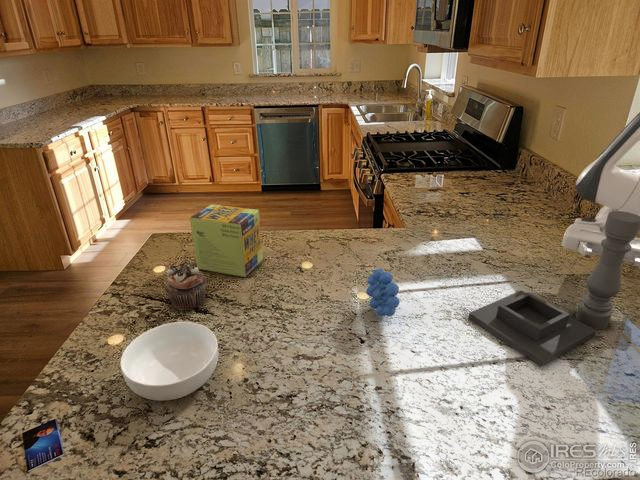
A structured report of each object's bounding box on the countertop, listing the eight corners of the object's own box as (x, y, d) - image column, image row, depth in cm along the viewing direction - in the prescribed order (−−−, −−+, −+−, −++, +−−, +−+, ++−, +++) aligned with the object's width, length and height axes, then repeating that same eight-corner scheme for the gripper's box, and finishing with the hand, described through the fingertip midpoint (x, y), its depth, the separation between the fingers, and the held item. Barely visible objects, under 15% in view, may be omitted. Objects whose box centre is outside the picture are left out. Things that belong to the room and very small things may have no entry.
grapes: (411, 324, 93) (416, 277, 88) (385, 332, 91) (388, 285, 86) (383, 297, 103) (386, 254, 98) (359, 304, 101) (361, 260, 95)
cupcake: (217, 297, 104) (212, 261, 100) (185, 317, 97) (179, 279, 92) (191, 286, 109) (185, 251, 104) (159, 304, 102) (151, 267, 97)
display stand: (594, 335, 89) (600, 318, 87) (541, 366, 81) (546, 348, 79) (520, 295, 103) (523, 279, 101) (468, 318, 95) (471, 301, 93)
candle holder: (576, 309, 98) (606, 208, 87) (607, 317, 95) (643, 214, 84) (574, 323, 93) (606, 218, 82) (607, 332, 90) (645, 225, 79)
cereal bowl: (113, 379, 80) (104, 349, 76) (193, 338, 90) (188, 310, 87) (153, 433, 69) (145, 401, 65) (239, 379, 79) (235, 349, 76)
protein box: (246, 278, 112) (241, 224, 105) (196, 269, 117) (188, 217, 110) (263, 259, 121) (259, 209, 114) (216, 252, 126) (210, 203, 119)
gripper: (661, 258, 99) (666, 285, 88) (563, 239, 109) (556, 261, 99) (671, 234, 96) (676, 259, 86) (569, 216, 106) (563, 236, 96)
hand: (611, 259), depth 92 cm, fingers open, 8 cm apart
